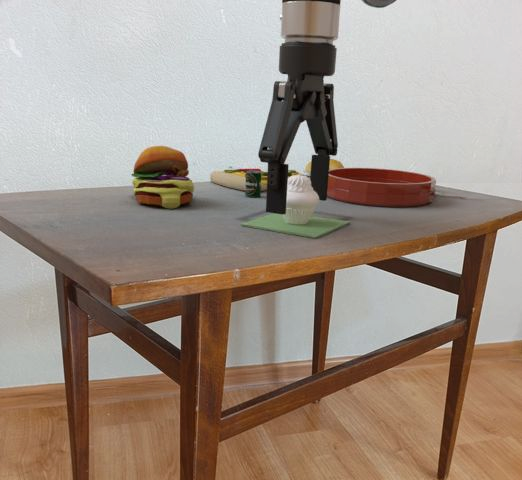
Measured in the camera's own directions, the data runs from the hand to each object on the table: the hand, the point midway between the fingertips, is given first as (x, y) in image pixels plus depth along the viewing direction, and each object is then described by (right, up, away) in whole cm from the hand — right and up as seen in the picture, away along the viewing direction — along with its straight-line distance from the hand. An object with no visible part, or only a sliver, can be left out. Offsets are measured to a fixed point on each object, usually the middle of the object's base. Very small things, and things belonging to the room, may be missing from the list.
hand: (297, 206), depth 86 cm
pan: (+17, +8, +26) cm, 32 cm away
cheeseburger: (-22, +3, +12) cm, 25 cm away
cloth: (0, -2, +1) cm, 3 cm away
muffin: (0, -2, +1) cm, 3 cm away
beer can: (-7, +7, +21) cm, 24 cm away
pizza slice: (-4, +13, +35) cm, 37 cm away
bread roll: (+9, +18, +47) cm, 51 cm away
